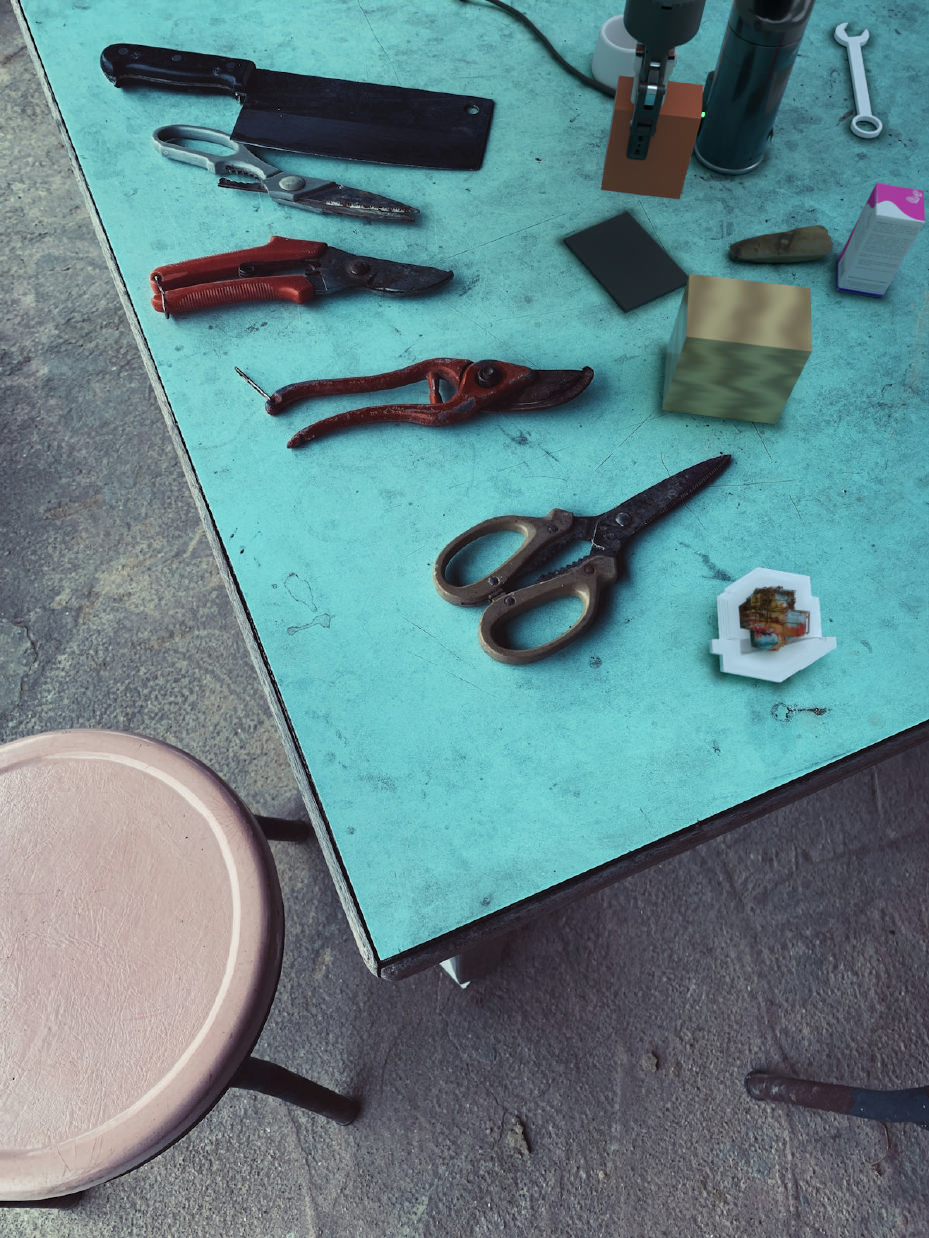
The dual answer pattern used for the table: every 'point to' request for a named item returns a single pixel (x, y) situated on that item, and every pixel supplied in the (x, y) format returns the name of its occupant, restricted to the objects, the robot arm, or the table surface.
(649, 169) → the block
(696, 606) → the table surface
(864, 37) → the wrench
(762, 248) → the stone
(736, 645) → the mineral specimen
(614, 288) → the mat
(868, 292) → the supplement box
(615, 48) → the mug
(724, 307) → the stand
